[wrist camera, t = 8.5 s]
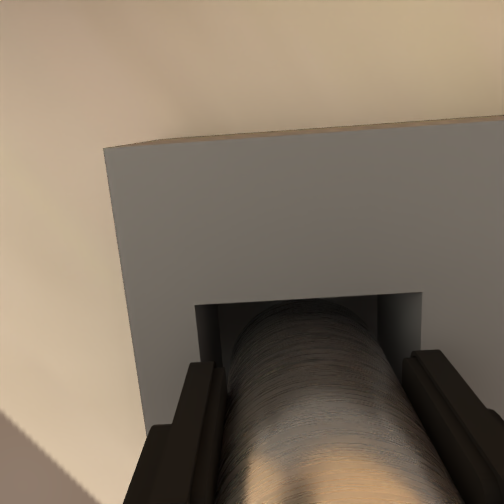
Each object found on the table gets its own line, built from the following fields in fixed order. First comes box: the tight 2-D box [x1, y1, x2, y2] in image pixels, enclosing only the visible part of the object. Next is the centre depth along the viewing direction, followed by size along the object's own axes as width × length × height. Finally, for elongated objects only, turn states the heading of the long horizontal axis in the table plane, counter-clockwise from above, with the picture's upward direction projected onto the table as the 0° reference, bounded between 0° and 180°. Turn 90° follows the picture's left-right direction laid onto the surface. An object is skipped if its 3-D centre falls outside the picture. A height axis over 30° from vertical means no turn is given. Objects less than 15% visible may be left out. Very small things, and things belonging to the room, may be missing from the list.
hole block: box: [103, 115, 504, 436], centre depth 13 cm, size 12×16×6 cm
